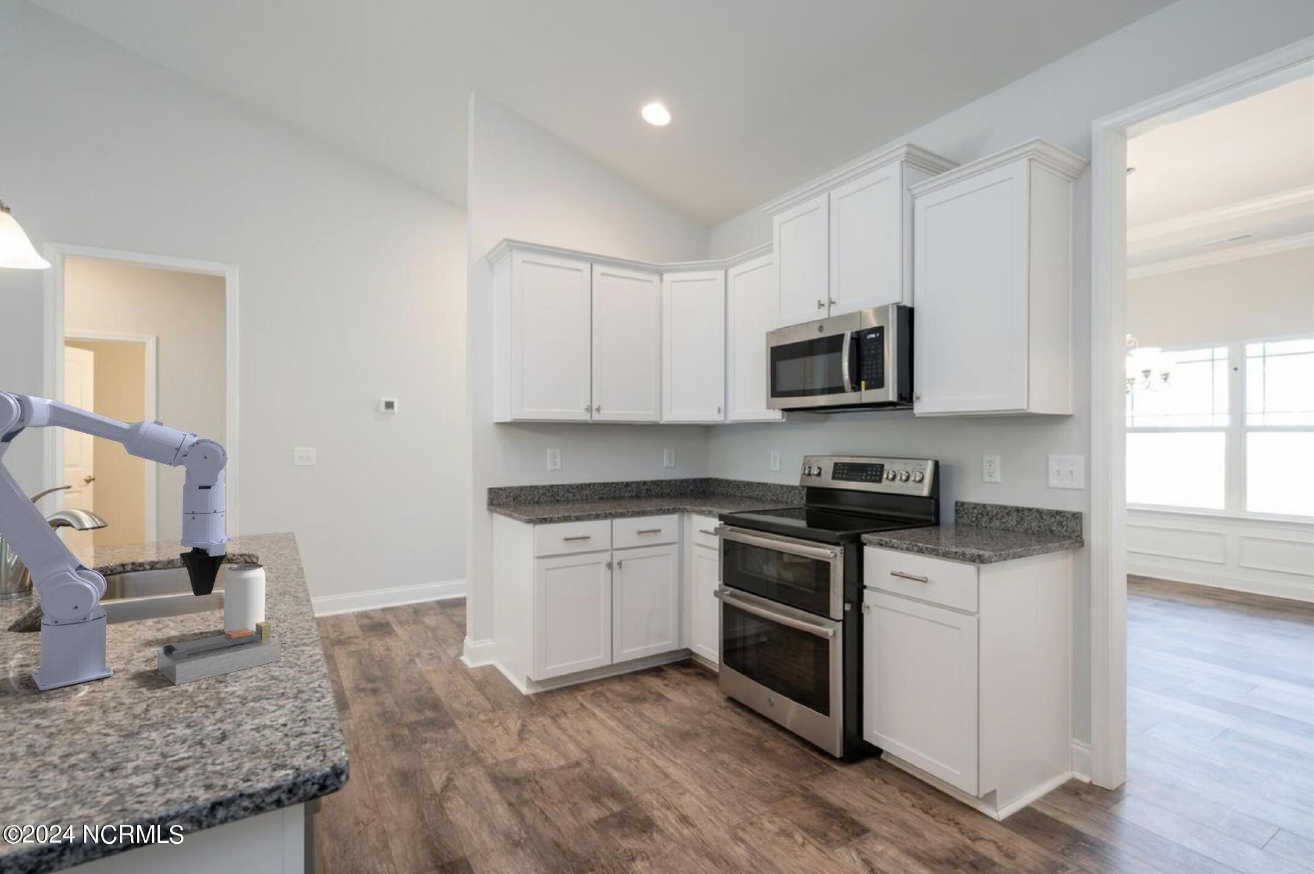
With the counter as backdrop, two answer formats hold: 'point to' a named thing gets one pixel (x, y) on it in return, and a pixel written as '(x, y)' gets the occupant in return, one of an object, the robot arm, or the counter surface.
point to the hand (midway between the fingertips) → (202, 594)
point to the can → (244, 597)
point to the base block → (218, 658)
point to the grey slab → (218, 641)
